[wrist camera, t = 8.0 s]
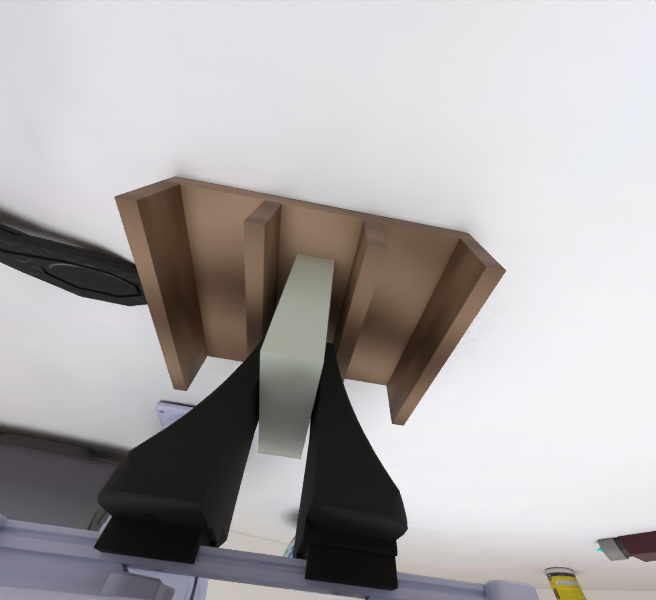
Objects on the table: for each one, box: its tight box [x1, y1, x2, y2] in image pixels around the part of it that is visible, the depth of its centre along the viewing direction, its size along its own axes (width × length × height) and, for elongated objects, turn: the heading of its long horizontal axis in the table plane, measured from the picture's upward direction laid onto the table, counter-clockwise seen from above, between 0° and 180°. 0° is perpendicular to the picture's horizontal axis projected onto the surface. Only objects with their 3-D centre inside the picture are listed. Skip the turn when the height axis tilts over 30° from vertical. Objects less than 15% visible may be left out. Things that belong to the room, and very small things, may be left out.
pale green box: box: [258, 254, 335, 459], centre depth 13 cm, size 7×2×7 cm, turn 170°
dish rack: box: [115, 177, 506, 426], centre depth 15 cm, size 12×15×4 cm
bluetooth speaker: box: [0, 433, 117, 532], centre depth 29 cm, size 23×9×10 cm, turn 74°
